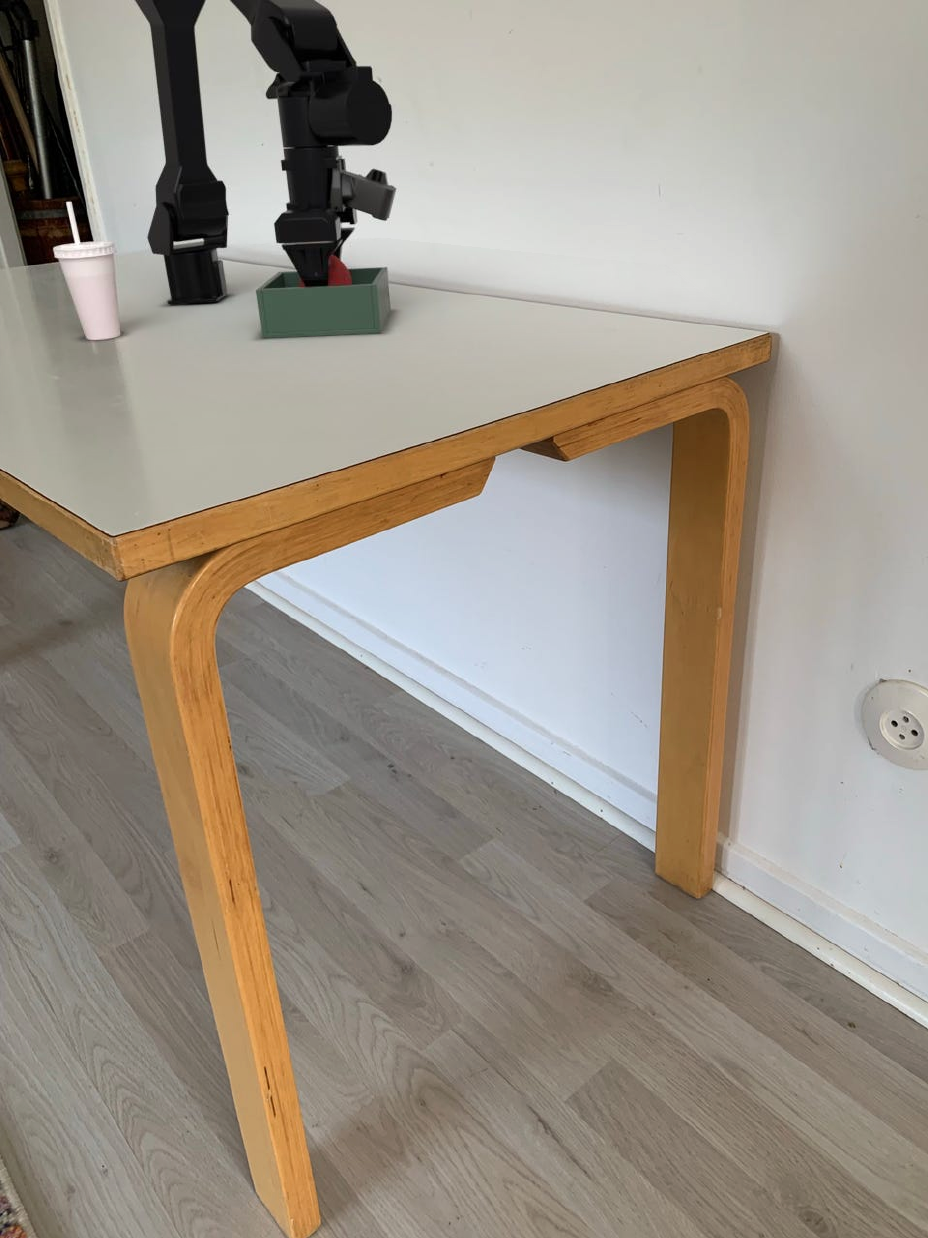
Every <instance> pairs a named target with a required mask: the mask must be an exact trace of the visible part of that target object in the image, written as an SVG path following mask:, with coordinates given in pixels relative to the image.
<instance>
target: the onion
mask: <svg viewBox="0 0 928 1238" xmlns="http://www.w3.org/2000/svg"><path fill="white" fill-rule="evenodd" d="M348 269H349V268H348V267H347V266H346V265H345V263H344V262H343V261H342V259H341V260H340V259H338V258H337V257H336V256H334V255H333V254H332V255H331V257H330V272H329V286H337V285H352V278H351V275H350V273H349V271H348ZM300 287H305V285H304V283H303V281H302V279H301V278H300Z"/></svg>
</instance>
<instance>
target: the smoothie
mask: <svg viewBox="0 0 928 1238" xmlns="http://www.w3.org/2000/svg"><path fill="white" fill-rule="evenodd" d="M65 204H66V208H67V213H68V217H69V222H70V226H71V231H72V237H73V241H74V242H73V243H65V244H60V245H56V246H54V247H53V249H52V251H53V254H54V258H55V259H57V260H58V262H59V266H60V268H61V271H62V273H63V276H64V279H65V282H66V285H67V288H68V291H69V293H70V296H71V299H72V302H73V305H74V307H75V310H76V314H77V316H78V319H79V321H80V324H81V328H82V330H83V332H84V335H85V339H86V340H90V341H100V340H101V341H102V340H109V339H114V338H117V337H120V336H121V335H122V334H121V324H120V311H119V302H118V301H119V300H118V290H117V289H118V287H117V277H116V265H115V255H114V254H116V253H117V250H116V246H115V242H112V241H106V240H105V241H86V242H85V241H83V242H81V239H80V238H81V237H80V234H79V230H78V226H77V221H76V216H75V212H74V206H73V203H72V201H66V202H65Z"/></svg>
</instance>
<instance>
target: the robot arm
mask: <svg viewBox="0 0 928 1238" xmlns="http://www.w3.org/2000/svg"><path fill="white" fill-rule="evenodd" d="M134 1H135V3H136V5H137V6H138V8H139V9H140V11H141V12H142V14H143V16H144V17H145V19H146V21H147V22H148V24H149V28H150V37H151V45H152V52H153V61H154V71H155V78H156V79H155V81H156V89H157V95H158V96H157V97H158V104H159V112H160V114H159V115H160V122H161V132H162V141H163V149H164V158H165V163H164V166H163V168H162V169H161V170H162V171H161V173H160V175H159V178H158V180H157V182H156V184H155V188H154V189H155V209H154V213H153V214H152V215H153V216H152V219H151V222H150V226H149V229H148V233H147V237H146V238H147V242H148V244H149V247H150V251H151V253H152V254H153V255H160V256H163V259H164V266H165V271H166V276H167V282H168V288H169V293H170V298H169V299H168V300H167V305H182V304H183V305H184V304H186V305H187V304H204V303H206V304H207V303H208V304H209V303H217V302H219V301H220V300H222V299H223V298H224V297H226V296H227V295H228V287H227V279H226V275H225V267H224V261H223V260H222V259H219V256H218V249H227V248H228V230H229V229H228V228H229V215H230V212H229V209H228V205H227V187H226V185H225V182H224V181H223V180H218V178H217V177H216V175H215V174H214V172H213V171H212V169H211V168H210V166H209V164H208V157H207V145H206V137H205V126H204V115H203V104H202V93H201V84H200V83H201V82H200V73H199V72H200V71H199V62H198V51H197V42H196V41H197V38H196V24H197V22H198V21H199V18H200V15H201V13H202V10H203V8H204V6H205V3H206V0H134ZM229 2H231V4H232V5H233V6H234V7H235V8H236V9H237V10H238V11H239V12H240V13H241V15H242V16H243V17H244V18H245V19H246V21H247V22H248V24H249V25H250V41H251V43H252V44H253V46H254V48H255V49H256V50H257V52H258V54H259V56H260V57H261V58H262V59H263V61H264V63H265V64H266V66H267V67H268V69H270V70H271V71H273V72H275V77H274V79H273V81H272V83H271V84H269V86H268V87H267V90H266V91H265V98H266V99H267V100H277V108H278V116H279V117H278V118H279V125H280V133H281V141H282V142H281V143H282V148H283V157H284V159H280V164H281V165H280V166H281V171H282V172H285V174H286V183H287V190H288V191H287V192H288V198H289V199H288V200H289V201H288V202H286V203H285V206H286V210H284V211H283V212H282V213H280V215H279V216H278V218H276V220H275V221H274V223H273V228H274V235H275V242H276V244H281V248H282V250H283V251H284V252H285V254H286V255H287V257H288V258H289V260H290V262H291V263H292V266H293V267H294V269H295V271H297V272H298V274H299V276H300V278H301V279H302V281H303V283H304V285H305V287H314V286H329V272H330V257H331V255H332V254H333V255H334V256H336V257H337V258H338V259H340V260H341V261H342V255H343V254H342V253H343V247H344V244H345V243H346V241H347V240H348V239H349V238H350V236H351V235H352V234H353V233H354V232H355V230H356V227H354V225H356V224H357V223H358V213H357V211H359V212H363V213H365V214H368V215H371V216H372V218H374V219H375V220H376V219H377V220H380V221H382V222H383V221H384V222H385V221H388V219H390V215H391V211H392V207H393V203H394V199H395V196H396V192H397V187H395V186H394V185H392V184H389V182H388V177H387V173H386V172H385V171H382V170H380V169H376V168H371V169H370V171H369V172H368V173H367V175H365V176H364V175H362V174H357V173H355V172H351V171H348V170H347V167H346V166H347V165H346V158H343V155H340V150H339V147H364V146H365V147H367V146H371V147H372V146H377V145H378V144H380V143H382V142H383V141H384V140H385V139H386V138H387V136H388V135H389V132H390V129H391V125H392V122H393V108H392V107H393V106H392V104H391V103H390V101H389V98H388V96H387V93H386V92H385V89H384V88H383V87H382V86H381V85H380V84H379V83H378V82H376V81H375V80H374V75H373V68H372V66H371V65H357V61H356V60H355V58H354V57H353V55H352V53H351V50H350V49H349V48H348V45H347V44H346V42H345V39H344V38H343V35H342V33H341V32H340V30H339V27H338V23H337V21H336V18H335V16H334V15H333V13H332V11H330V9H328V7H326V6H324V5H323V4H321V3H320V2H318V1H317V0H229ZM348 223H349V225H350V226H351V225H353V227H343V224H348ZM196 240H201V241H196ZM188 241H194V242H188ZM179 242H180V243H179ZM181 242H187V243H181ZM175 243H179V244H175Z"/></svg>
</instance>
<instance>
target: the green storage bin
mask: <svg viewBox="0 0 928 1238" xmlns="http://www.w3.org/2000/svg"><path fill="white" fill-rule="evenodd" d="M347 269H348V271H349V273H350V275H351V278H352V285H337V286H314V287H300V276H299V274H298V272H297V270H292V271H291V270H290V271H289V270H288V271H278V272H277V273H275V274H274V275H273V276H272V277H271V278H269V279H268V280H267V281H265V282H264V283H263V284H262V285H260V286H259V287H257V289H255V293H256V301H257V308H258V309H257V310H258V316H259V322H260V328H261V329H260V330H261V336H262V339H275V338H278V339H280V338H299V337H302V338H303V337H324V336H348V335H349V336H350V335H370V334H371V335H372V334H381V333H382V331H383V329H384V327H385V324H386V323H387V321H388V318H389V316H390V314H391V311H392V309H391V296H390V284H389V271H388V267H387V266H382V267H381V266H380V267H360V268H359V267H358V268H347Z"/></svg>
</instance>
